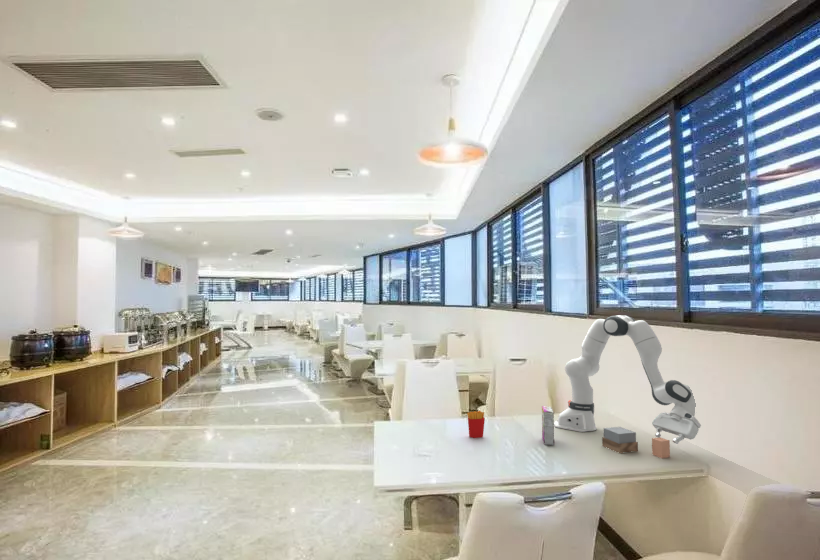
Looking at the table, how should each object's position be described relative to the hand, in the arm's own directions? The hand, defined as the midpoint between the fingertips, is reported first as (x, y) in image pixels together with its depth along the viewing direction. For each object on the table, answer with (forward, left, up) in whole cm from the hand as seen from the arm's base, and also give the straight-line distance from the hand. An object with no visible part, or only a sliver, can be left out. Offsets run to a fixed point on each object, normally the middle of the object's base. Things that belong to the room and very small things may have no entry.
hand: (665, 439), depth 204 cm
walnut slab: (-19, +1, -7) cm, 21 cm away
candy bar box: (-52, -4, -7) cm, 53 cm away
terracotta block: (-2, -2, -7) cm, 8 cm away
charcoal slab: (-19, +1, -3) cm, 20 cm away
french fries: (-87, -12, -7) cm, 88 cm away
